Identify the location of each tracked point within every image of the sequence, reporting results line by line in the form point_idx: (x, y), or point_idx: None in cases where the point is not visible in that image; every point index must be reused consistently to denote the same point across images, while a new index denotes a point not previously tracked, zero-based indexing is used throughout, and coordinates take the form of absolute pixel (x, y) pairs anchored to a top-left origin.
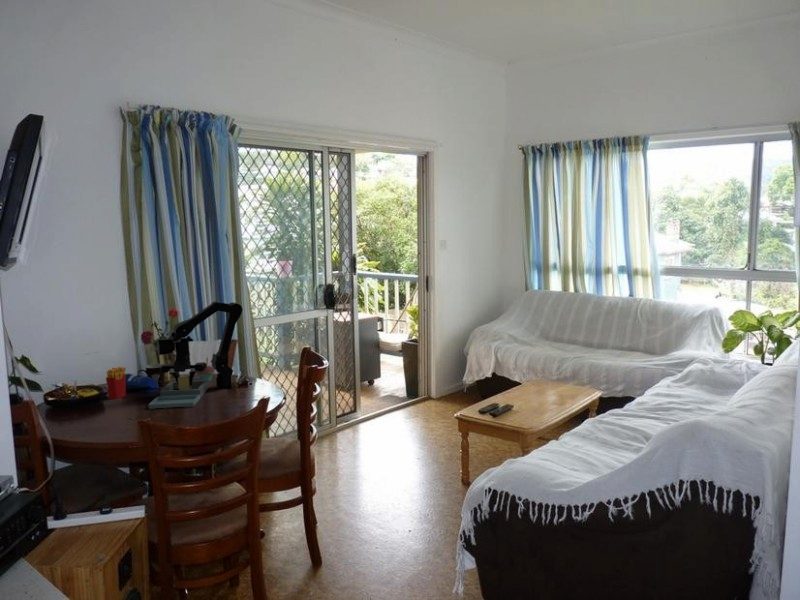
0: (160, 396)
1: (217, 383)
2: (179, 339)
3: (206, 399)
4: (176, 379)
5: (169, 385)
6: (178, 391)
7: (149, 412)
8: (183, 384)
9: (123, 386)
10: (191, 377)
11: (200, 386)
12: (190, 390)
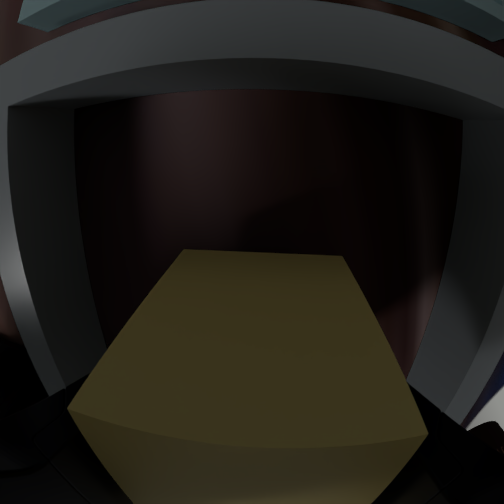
0: (494, 12)
1: (27, 393)
2: None
3: (12, 34)
4: (434, 423)
5: (466, 380)
6: (297, 7)
7: None
8: (258, 309)
9: None
10: (41, 415)
11: (9, 239)
12: (82, 29)
